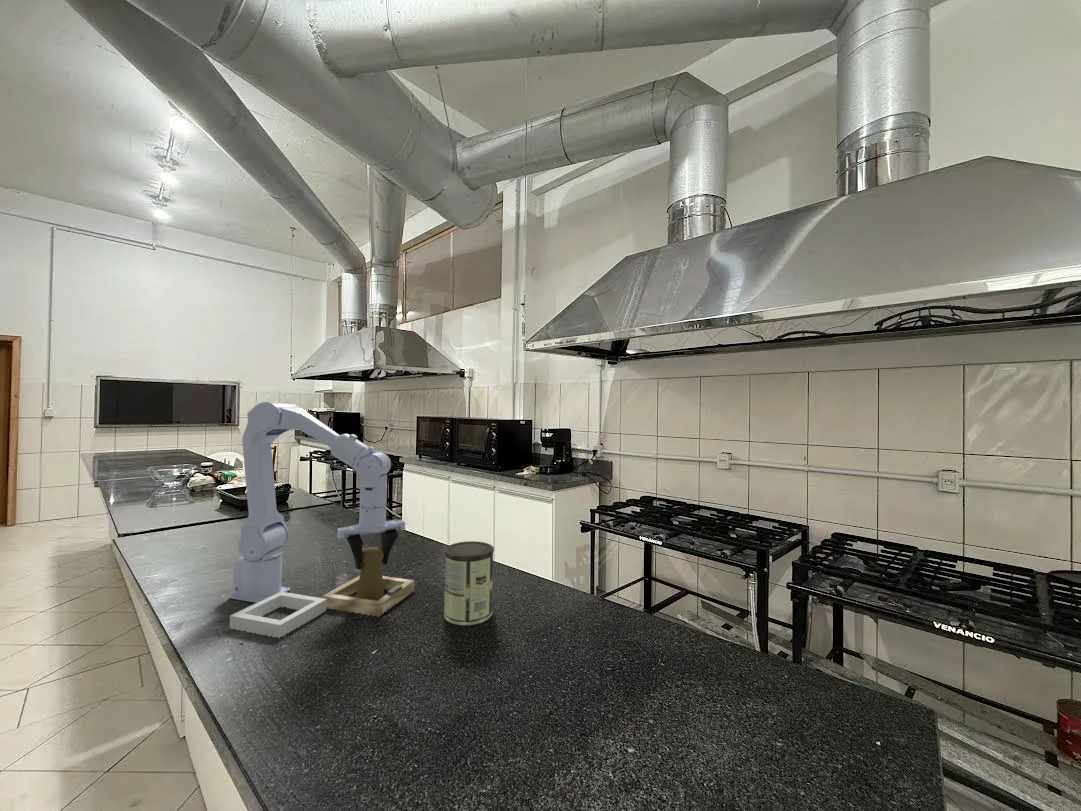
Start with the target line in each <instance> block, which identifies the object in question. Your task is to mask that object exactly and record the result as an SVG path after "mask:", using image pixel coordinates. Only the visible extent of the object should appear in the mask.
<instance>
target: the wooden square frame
mask: <svg viewBox="0 0 1081 811" xmlns="http://www.w3.org/2000/svg"><path fill="white" fill-rule="evenodd" d="M382 577H383V586H384V591H385V590H386V591H387V593H386V594H384V597H382V598H381V599H379V600H378V601H374V600H367V599H361V598H356V597H353V596H352V595H353V594H355V593H357V591H358V585H359V579H360V575H358V576H356V577H355V578H353V579H351V580H349V581H347V582H345V583H344V584H342V585H340V586H338V587H336V588H334V589H332V590H331V591H329V592H327V593H325V594H323V595H322V597H321V598H324V599H327V609H330V610H334V609H335V611H339V612H340V611H341V612H346V611H347V612H346V613H352V612H354V613H353V614H358V613H361V614H360V615H364V614H366V615H365V616H370V615H372V616H371V617H375V616H377V618H379V617H381V616H383V614H384V612H385V613H386V612H387V611H389V610H390V609H391V608H393V607H394V606H396V605H397V604H399V603H400V602H401V601H402V600H404V599H405V598H406V597H408V596H410V595H411V594H412V593H413V592H415V584H416V583H415V579H407V578H401V577H399V578H398V577H392V576H388V575H387V576H385V575H382ZM395 604H396V605H395ZM392 606H393V607H392ZM388 609H389V610H388Z"/></svg>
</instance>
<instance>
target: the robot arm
mask: <svg viewBox="0 0 1081 811" xmlns="http://www.w3.org/2000/svg"><path fill="white" fill-rule="evenodd" d="M246 416H247V424H246V426H245V429H244V432H243V434H242V437H241V438H242V440H241V441H242V451H243V452H242V454H243V462H244V463H243V464H244V475H245V477H244V478H245V487H246V488H245V489H246V499H247V509H248V516H247V518H246V520H245V521H244V522H243V524H242V525H241V527H240V537H239V540H238V542H237V549H238V552H239V554H240V557H238V558H237V560H236V561H235V563H234V564H233V569H232V590H231V592H232V594H230V595H228V598H229V599H232V600H237V601H238V600H239V601H244V602H249V603H253V604H256V603H258V602H260V601H262V600H264V599H266V598H268V597H271V596H273V595H275V594H277V593H279V592H287V593H288V592H290V591H291V587H286V586H282V576H283V575H282V574H283V552H284V546H285V545H286V544H287V543H288V541H289V540H290V531H289V528H288V526H287V525H286V523H285V517H284V516H283V514H281V513H280V512H279V511H278V510H277V508H278V507H277V498H276V486H275V484H276V483H275V476H274V464H273V452H272V444H273V442H275V441H276V440H277V439H278V438H279V437H280V436H282V435H283V434H285V433H286V432H289V431H290V430H298V431H301V432H302V433H304V434H306V435H308V436H310V437H312V438H313V439H315V440H317V441H319V442H321V443H322V444H324V445H326V446H327V447H329V451H330V454H331V455H332V456H333V457H335V458H337V459H338V460H340V461H341V462H343V463H344V464H346V465H348V466H349V467H350V468H352V469H355V471H356V474H357V476H358V477H359V479H360V484H359V487H360V488H359V514H358V515H359V517H358V519H359V520H358V523H359V524H358V523H357V524H354V525H353V524H352V525H349V526H344V527H339V528H337V531H336V532H337V534H336V537H337V539H338V540H344V539H346V540H347V542H348V544H349V546H350V549H351V550H350V551H352V552H351V553H352V555H353V560H354V565H355V568H356V569H357V570H361V567H362V560H361V554H362V550H363V545H364V540H362V536H366V535H373V534H379V533H380V536H381V537H380V538H381V539H380V540H381V548H382V549H383V552H384V557H383V560H382V561H381V564H382V565H387V564H388V560H389V557H390V553H391V551H392V549H393V547H394V544H395V543H396V540H397V539H398V535H399V534H398V532H397V531H405V530H406V521H405V520H403V519H399V520H387V504H388V503H387V499H388V498H387V494H388V492H387V491H388V473H389V472H390V470H391V468H392V461H391V458H390V457H389V455H387V453H385V451H383V450H377V451H375V447H373V446H368V445H366V444H365V443H363V442H361V440H359V439H358V436H357V435H356V434H354V433H352V434H349V433H341V434H339V433H337V432H336V431H335V430H333V429H332V428H330V427H329V426H328V425H326V424H325V423H323V422H322V421H320V420H319V419H318V418H316V417H314V416H313V415H312V414H311V413H309V412H308V411H306V409H304V408H302V407H298V405H296V404H295V403H293V402H269V401H262V402H259V403H257V404H256V405H254V407H253V408H251V409H250V410H249V411H248V412H247V415H246Z"/></svg>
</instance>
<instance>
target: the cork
mask: <svg viewBox="0 0 1081 811" xmlns="http://www.w3.org/2000/svg"><path fill="white" fill-rule="evenodd" d="M383 557H384V552H383V549H382V547H379V546H369V547H365V548H362V554H361V560H362V566H361V569H360V573H359V576H360V579H359V585H358V591H357V592H356V597H355V598H361V599H367V600H374V601H378V600H379V599H381V598H382V597H384V596H385V589H384V586H383V577H382V576H383V569H382V568H383V567H382V562H381V561H382V560H383Z"/></svg>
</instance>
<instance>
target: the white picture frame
mask: <svg viewBox="0 0 1081 811" xmlns="http://www.w3.org/2000/svg"><path fill="white" fill-rule="evenodd" d="M284 607H286V608H285V609H291V610H296V611H295V612H292V613H291V614H289V615H287V616H285V617H284V618H282V619H281V620H280V619H276V618H269V617H265V616H266V615H267V614H269V613H272V612H273V611H275V610H277V609H280V608H284ZM327 609H328V608H327V599H324V598H322V597H318V596H317V597H316V596H311V595H305V594H299V593H292V592H288V591H287V592H279V593H277V594H275V595H273V596H271V597H268V598H266V599H264V600H262V601H260V602H258V603H253V604H251V605H249V606H246V607H245V608H243V609H241V610H239V611H236V612H234V613H232V614H231V615H230V616H229V629H230V630H234V629H235V630H236V631H239V630H240V632H244V631H246V632H245V633H250V632H251V633H250V634H255V633H256V635H260V636H265V635H267V636H266V637H270V636H272V637H271V638H275V637H278V638H277V639H281V638H280V637H282V636H283V637H285V636H286V634H287V633H288V634H290V633H291V631H292V632H293V631H295V630H297V629H299V628H300V627H302V626H304V625H305V624H307V623H308V622H310V621H311V620H314V619H315V618H317V617H318V616H320V615H322V614H323V613H325V612H327ZM265 614H266V615H265ZM301 625H302V626H301ZM296 628H297V629H296ZM294 629H295V630H294ZM289 632H290V633H289ZM288 634H287V635H288ZM284 635H285V636H284ZM283 637H282V638H283Z"/></svg>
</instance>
